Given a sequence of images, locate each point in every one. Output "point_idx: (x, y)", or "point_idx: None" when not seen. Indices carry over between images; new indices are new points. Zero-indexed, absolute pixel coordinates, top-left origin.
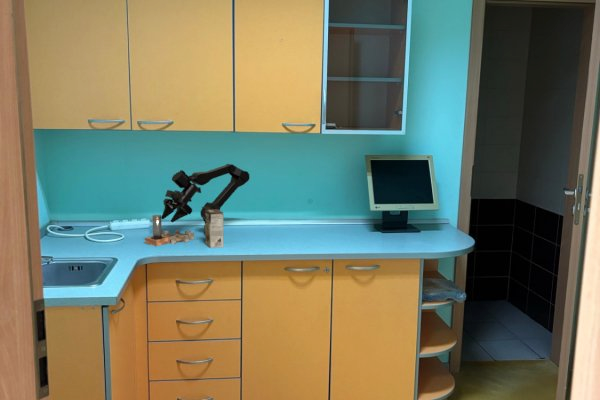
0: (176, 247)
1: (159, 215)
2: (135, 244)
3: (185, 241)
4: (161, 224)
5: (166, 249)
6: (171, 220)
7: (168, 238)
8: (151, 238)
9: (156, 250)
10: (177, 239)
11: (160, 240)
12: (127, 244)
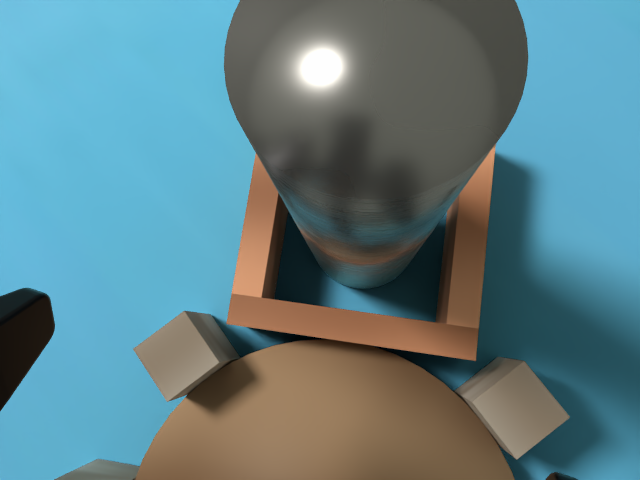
0: (39, 206)
1: (310, 118)
2: (530, 52)
3: (92, 461)
4: (294, 217)
5: (77, 86)
6: (10, 296)
7: (233, 301)
8: (456, 202)
9: (137, 3)
10: (174, 410)
11: (254, 171)
12: (605, 3)
